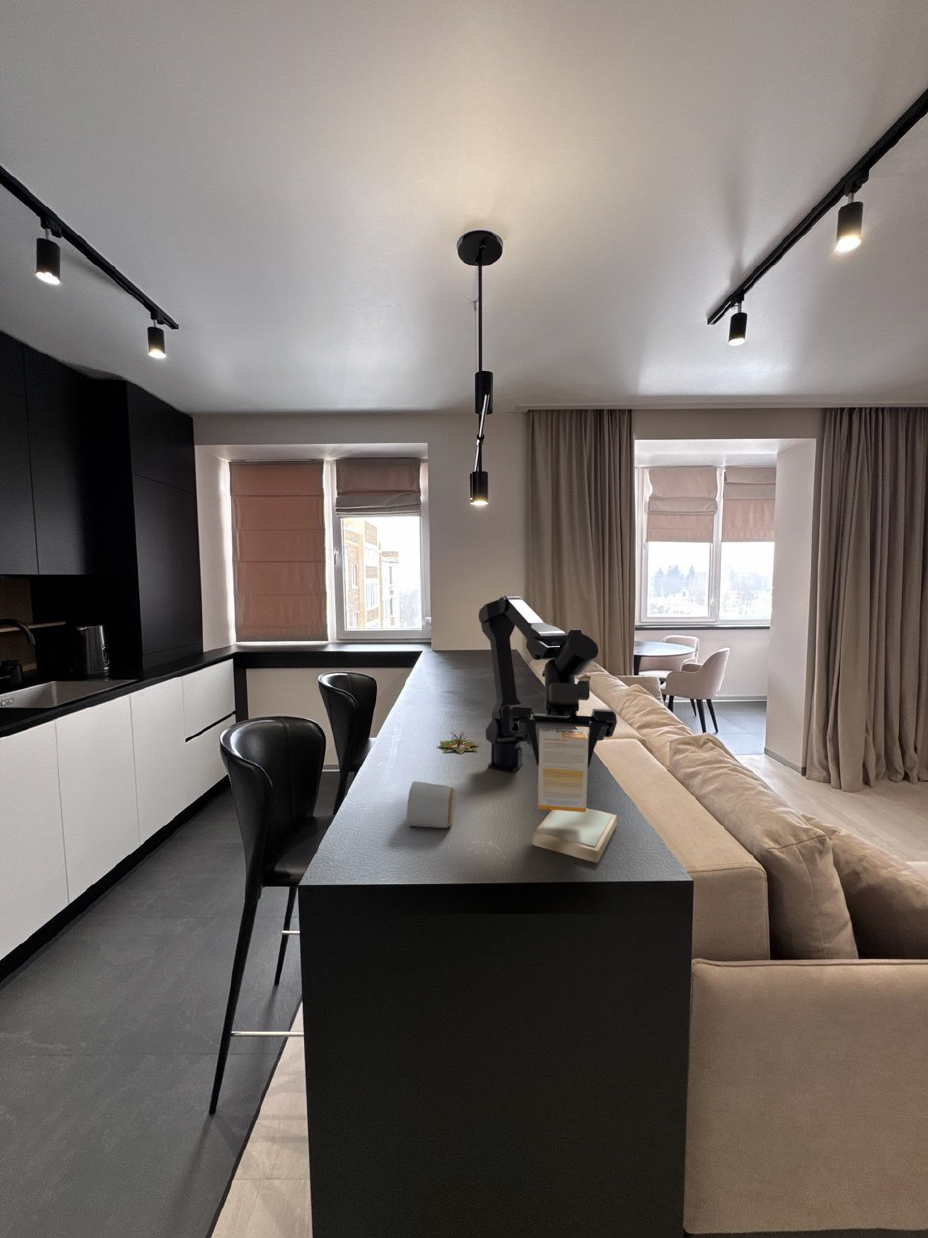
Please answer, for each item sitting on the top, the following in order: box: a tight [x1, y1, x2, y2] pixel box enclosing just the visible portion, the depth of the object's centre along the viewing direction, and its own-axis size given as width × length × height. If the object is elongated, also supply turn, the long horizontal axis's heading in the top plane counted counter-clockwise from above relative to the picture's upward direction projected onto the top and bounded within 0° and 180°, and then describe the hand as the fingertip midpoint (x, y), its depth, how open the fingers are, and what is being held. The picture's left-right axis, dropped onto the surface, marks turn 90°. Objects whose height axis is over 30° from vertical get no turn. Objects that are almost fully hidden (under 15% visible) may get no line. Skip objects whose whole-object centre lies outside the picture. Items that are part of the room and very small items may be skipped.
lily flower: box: [436, 729, 480, 755], centre depth 135 cm, size 12×12×5 cm
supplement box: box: [537, 727, 589, 812], centre depth 89 cm, size 8×5×13 cm, turn 82°
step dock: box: [532, 807, 618, 864], centre depth 90 cm, size 11×14×2 cm
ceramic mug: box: [406, 780, 457, 829], centre depth 94 cm, size 11×8×8 cm
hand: (562, 765), depth 87 cm, fingers closed on supplement box, 8 cm apart
